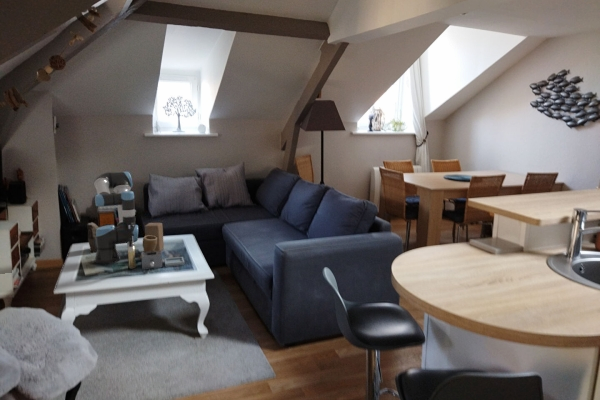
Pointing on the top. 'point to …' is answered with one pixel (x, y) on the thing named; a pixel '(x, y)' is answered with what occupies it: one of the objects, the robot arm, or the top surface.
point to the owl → (92, 236)
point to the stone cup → (149, 243)
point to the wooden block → (155, 234)
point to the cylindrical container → (131, 258)
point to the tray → (174, 261)
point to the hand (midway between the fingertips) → (131, 248)
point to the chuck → (151, 259)
